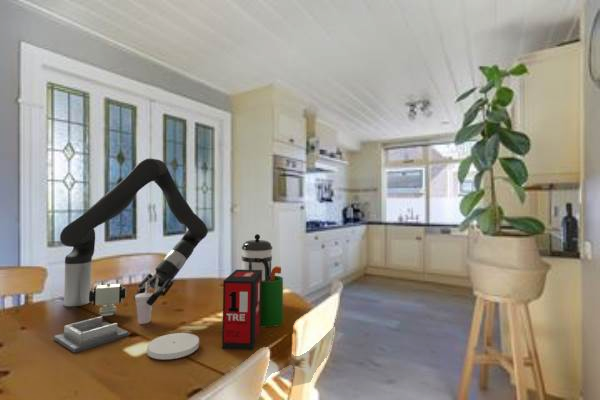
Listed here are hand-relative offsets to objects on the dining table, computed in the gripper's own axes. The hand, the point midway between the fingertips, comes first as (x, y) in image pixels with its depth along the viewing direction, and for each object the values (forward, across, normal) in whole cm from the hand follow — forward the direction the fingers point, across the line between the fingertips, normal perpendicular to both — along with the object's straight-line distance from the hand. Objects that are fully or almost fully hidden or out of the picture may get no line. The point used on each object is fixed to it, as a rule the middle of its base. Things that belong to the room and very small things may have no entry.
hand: (141, 302), depth 114 cm
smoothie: (+5, 0, +6) cm, 8 cm away
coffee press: (-22, +21, +32) cm, 44 cm away
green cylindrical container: (-14, +36, +25) cm, 46 cm away
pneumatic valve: (+7, -18, +3) cm, 20 cm away
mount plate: (+16, 0, -6) cm, 18 cm away
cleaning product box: (-3, +38, +14) cm, 41 cm away
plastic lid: (+10, +28, +1) cm, 30 cm away
